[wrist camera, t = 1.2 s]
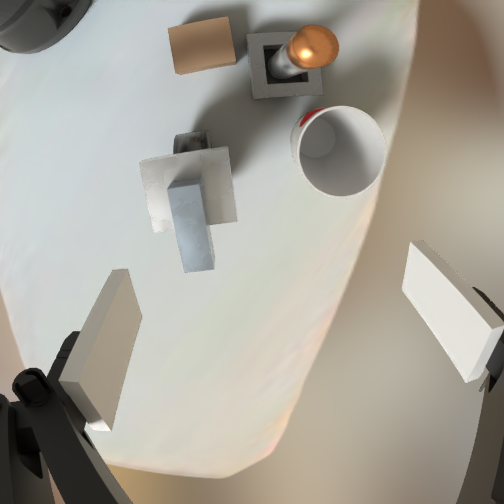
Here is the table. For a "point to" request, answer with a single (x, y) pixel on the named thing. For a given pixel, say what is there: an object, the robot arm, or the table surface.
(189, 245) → the caster wheel
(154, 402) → the table surface
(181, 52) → the block
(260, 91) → the grey square socket base
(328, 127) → the cup
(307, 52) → the pin
